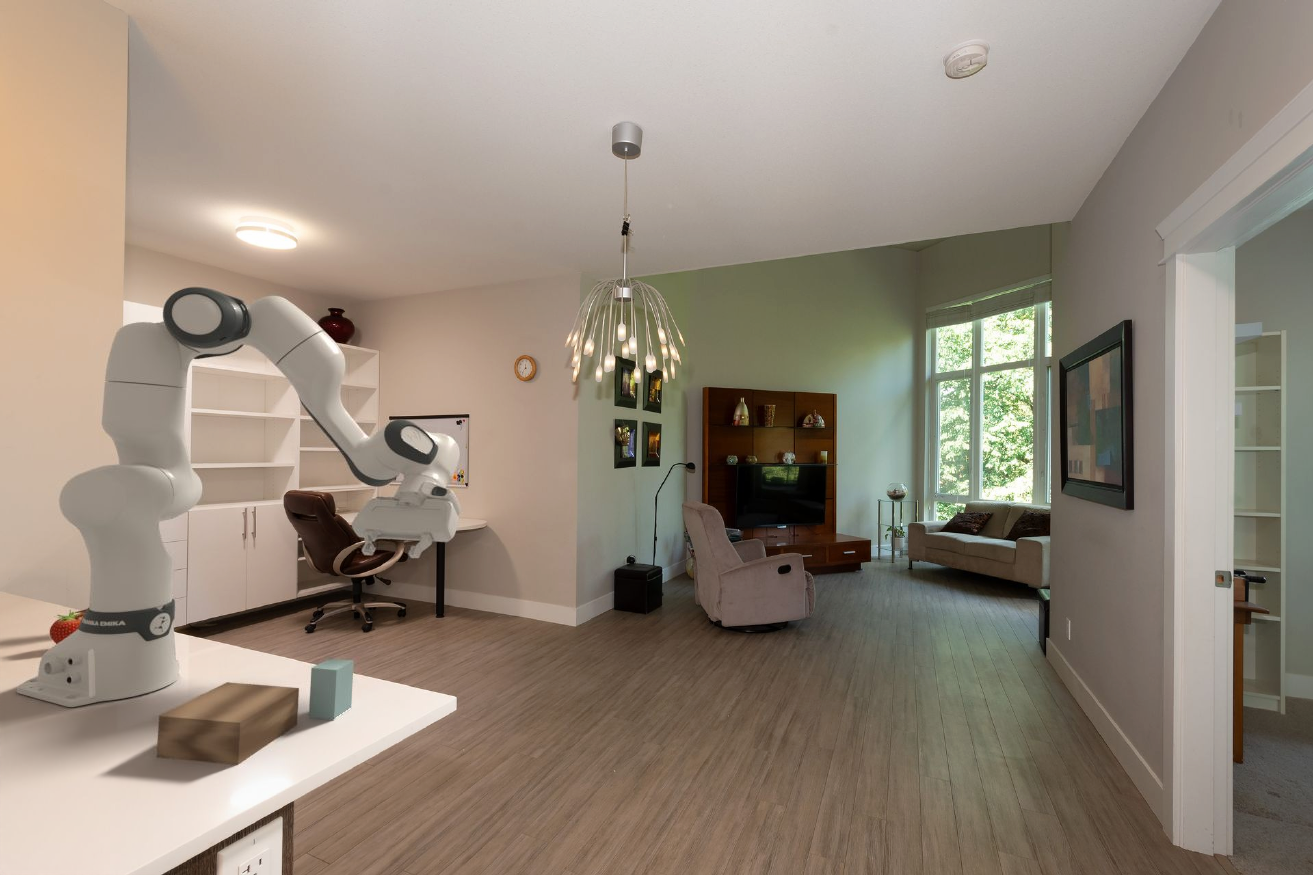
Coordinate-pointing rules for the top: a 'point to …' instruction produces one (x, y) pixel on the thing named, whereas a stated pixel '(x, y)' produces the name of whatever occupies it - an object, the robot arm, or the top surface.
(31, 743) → the top surface
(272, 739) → the walnut block
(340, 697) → the tea tin
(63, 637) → the fruit
